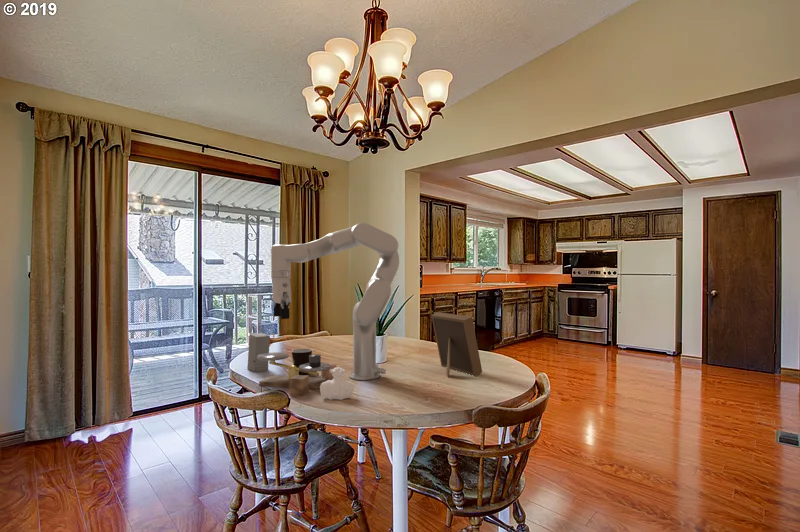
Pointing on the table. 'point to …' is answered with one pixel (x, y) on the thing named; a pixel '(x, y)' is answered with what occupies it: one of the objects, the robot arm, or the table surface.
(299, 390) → the walnut block
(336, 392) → the bust
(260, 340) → the skincare box
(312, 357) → the balance
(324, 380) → the balance base
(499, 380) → the table surface
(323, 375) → the peach rounded egg
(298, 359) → the coffee mug
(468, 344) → the photo frame
